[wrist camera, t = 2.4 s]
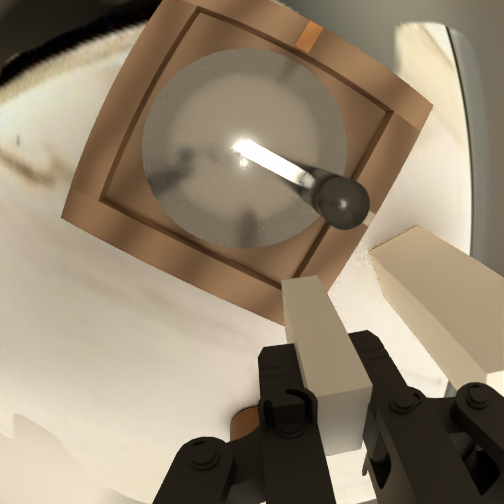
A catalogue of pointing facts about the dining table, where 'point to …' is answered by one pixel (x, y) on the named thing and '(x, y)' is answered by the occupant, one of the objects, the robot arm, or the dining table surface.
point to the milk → (446, 304)
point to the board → (138, 190)
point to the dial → (249, 151)
